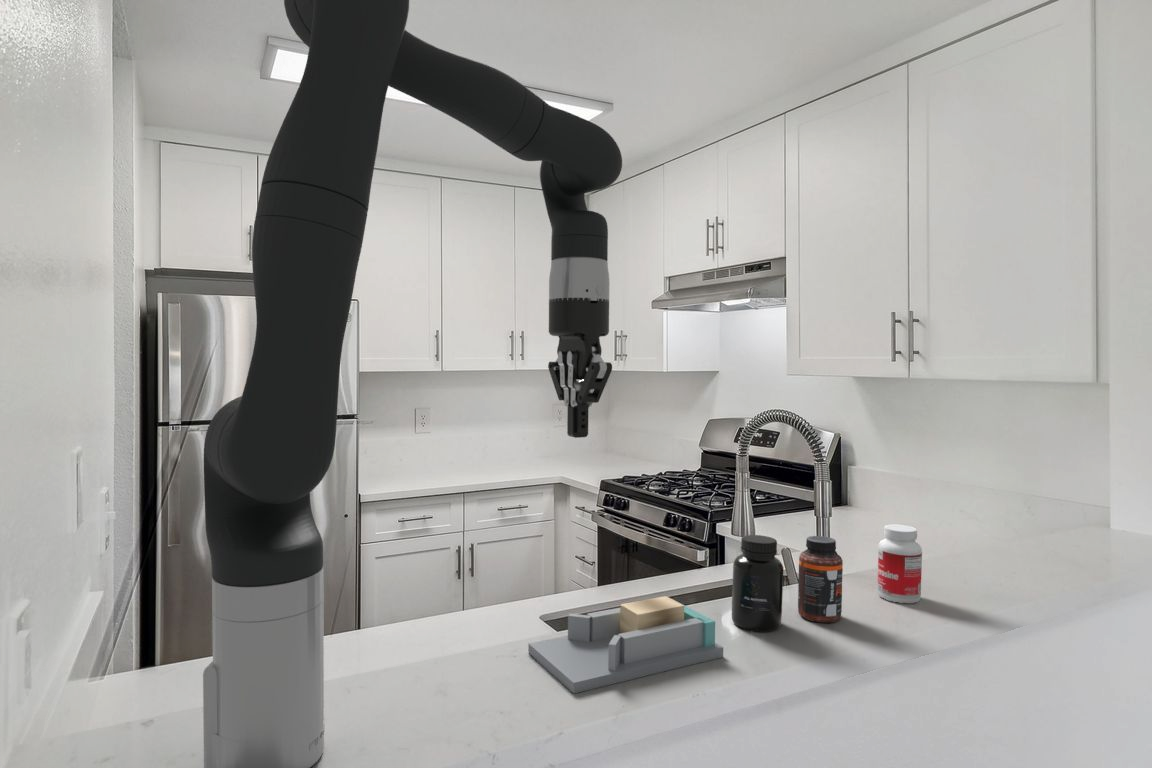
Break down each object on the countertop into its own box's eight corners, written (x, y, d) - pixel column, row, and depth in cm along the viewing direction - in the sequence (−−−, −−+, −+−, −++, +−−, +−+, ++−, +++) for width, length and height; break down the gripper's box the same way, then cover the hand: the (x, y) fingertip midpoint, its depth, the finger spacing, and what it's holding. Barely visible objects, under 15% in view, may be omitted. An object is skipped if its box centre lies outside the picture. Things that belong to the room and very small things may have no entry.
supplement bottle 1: (747, 635, 94) (748, 546, 93) (722, 617, 100) (724, 534, 100) (792, 630, 96) (793, 543, 95) (765, 613, 102) (766, 531, 102)
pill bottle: (869, 592, 112) (870, 523, 111) (903, 590, 113) (905, 522, 112) (893, 605, 106) (895, 533, 105) (929, 603, 107) (931, 531, 106)
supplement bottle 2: (844, 626, 97) (846, 545, 97) (800, 622, 98) (801, 542, 98) (837, 611, 103) (839, 535, 103) (795, 608, 104) (797, 532, 104)
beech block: (637, 651, 85) (637, 614, 85) (619, 639, 89) (620, 604, 89) (683, 640, 89) (684, 605, 88) (665, 629, 92) (665, 596, 92)
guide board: (573, 693, 77) (573, 655, 77) (528, 652, 87) (528, 619, 87) (723, 656, 87) (723, 623, 87) (666, 624, 97) (666, 594, 97)
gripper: (529, 300, 91) (528, 433, 92) (577, 291, 79) (576, 444, 80) (580, 302, 95) (579, 430, 95) (633, 295, 83) (631, 441, 84)
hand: (577, 436), depth 88 cm, fingers closed
